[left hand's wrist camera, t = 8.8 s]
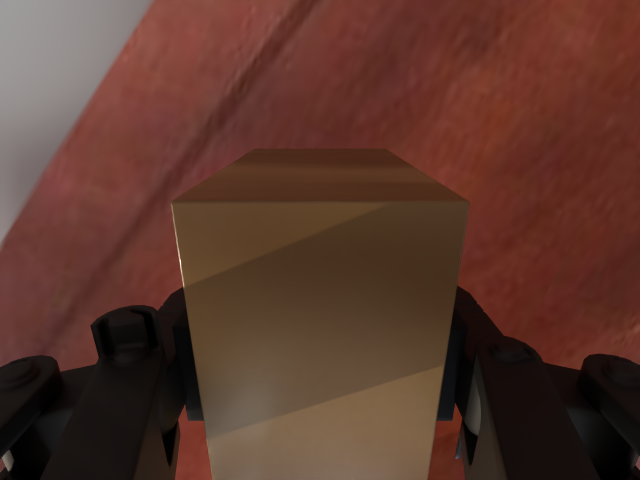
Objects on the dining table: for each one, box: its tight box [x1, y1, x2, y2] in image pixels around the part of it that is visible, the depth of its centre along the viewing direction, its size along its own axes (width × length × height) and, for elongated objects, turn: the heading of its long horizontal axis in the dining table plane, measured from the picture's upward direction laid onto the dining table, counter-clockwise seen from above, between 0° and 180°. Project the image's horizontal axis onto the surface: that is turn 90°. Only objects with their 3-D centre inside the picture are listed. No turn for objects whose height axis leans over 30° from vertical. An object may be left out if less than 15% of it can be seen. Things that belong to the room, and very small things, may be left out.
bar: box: [171, 149, 469, 480], centre depth 14 cm, size 23×5×8 cm, turn 0°
